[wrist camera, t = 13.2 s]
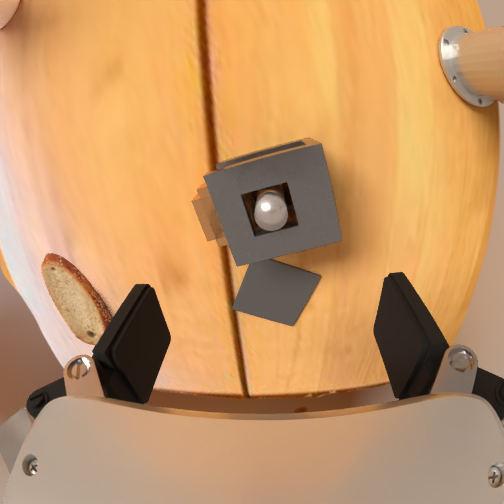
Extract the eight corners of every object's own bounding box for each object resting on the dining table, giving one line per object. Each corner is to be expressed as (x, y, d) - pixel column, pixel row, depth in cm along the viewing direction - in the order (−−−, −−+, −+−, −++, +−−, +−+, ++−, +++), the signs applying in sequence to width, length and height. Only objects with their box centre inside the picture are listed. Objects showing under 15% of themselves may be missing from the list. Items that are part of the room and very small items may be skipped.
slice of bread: (45, 245, 39) (33, 255, 36) (123, 288, 42) (114, 301, 39) (48, 310, 47) (39, 320, 44) (113, 348, 50) (107, 360, 47)
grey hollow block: (308, 137, 30) (321, 143, 23) (327, 214, 34) (342, 240, 27) (195, 170, 32) (175, 186, 25) (222, 240, 37) (210, 272, 30)
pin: (286, 182, 32) (292, 206, 24) (277, 204, 34) (280, 235, 25) (263, 173, 32) (261, 194, 24) (254, 195, 34) (249, 224, 25)
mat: (320, 275, 38) (320, 276, 38) (292, 324, 43) (292, 326, 42) (253, 253, 37) (253, 254, 37) (232, 307, 42) (232, 309, 41)
